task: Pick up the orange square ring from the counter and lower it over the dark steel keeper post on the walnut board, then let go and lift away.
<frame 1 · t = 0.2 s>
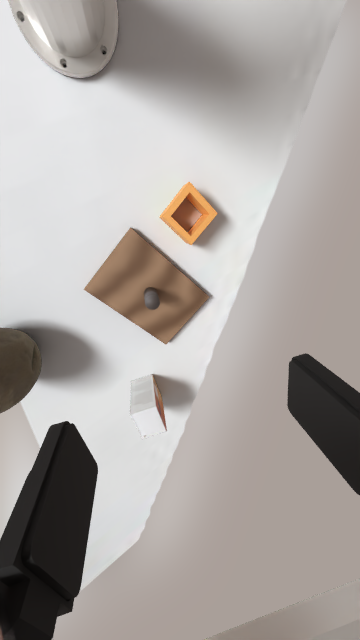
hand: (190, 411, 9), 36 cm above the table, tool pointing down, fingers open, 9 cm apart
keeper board: (150, 291, 44), on the table
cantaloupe: (13, 346, 44), on the table
orange square ring: (184, 215, 40), on the table
small box: (146, 388, 54), on the table
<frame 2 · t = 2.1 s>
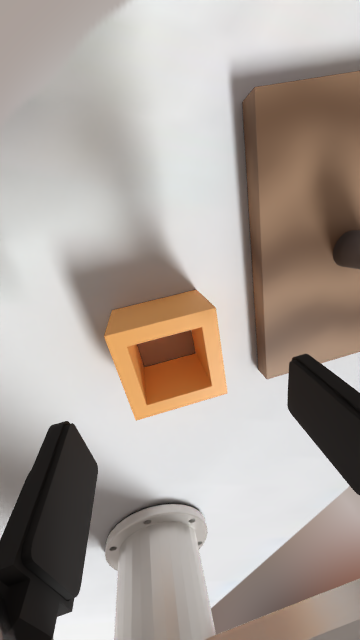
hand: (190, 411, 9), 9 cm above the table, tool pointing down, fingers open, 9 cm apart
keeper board: (332, 247, 18), on the table
orange square ring: (164, 337, 18), on the table
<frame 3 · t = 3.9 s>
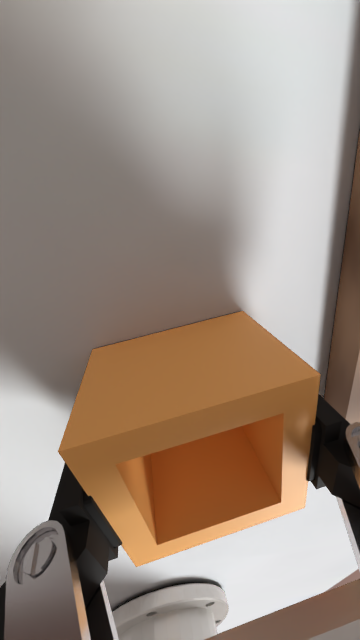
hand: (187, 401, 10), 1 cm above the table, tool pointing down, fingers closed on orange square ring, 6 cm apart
orange square ring: (183, 387, 11), on the table, touching gripper
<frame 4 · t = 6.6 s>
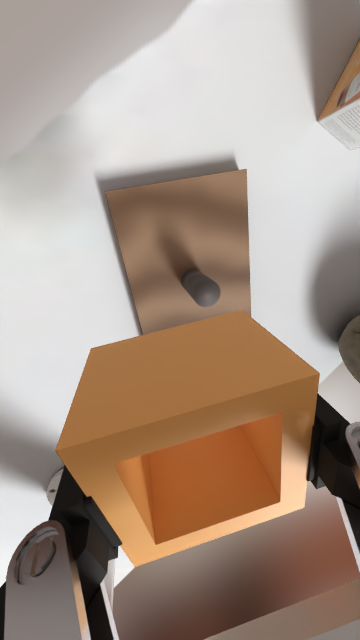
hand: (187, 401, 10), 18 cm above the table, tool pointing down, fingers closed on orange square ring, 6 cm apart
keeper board: (189, 278, 27), on the table
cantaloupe: (357, 329, 35), on the table
orange square ring: (182, 387, 11), point 17 cm above the table, touching gripper
small box: (354, 96, 23), on the table
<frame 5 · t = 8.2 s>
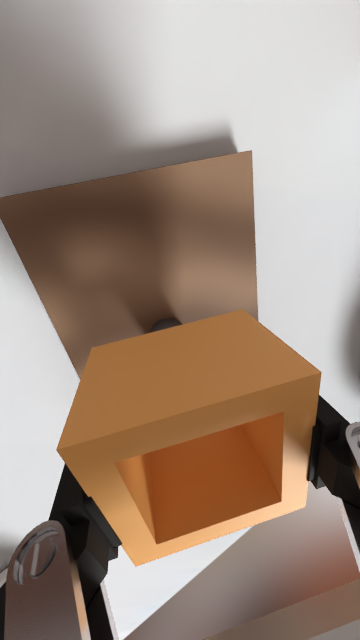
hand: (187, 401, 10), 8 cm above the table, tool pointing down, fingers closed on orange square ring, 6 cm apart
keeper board: (165, 325, 17), on the table
orange square ring: (183, 386, 11), point 7 cm above the table, touching gripper
when the fingers open (5 cm above the table, at t = 9.4 s): orange square ring drops 2 cm, resting on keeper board.
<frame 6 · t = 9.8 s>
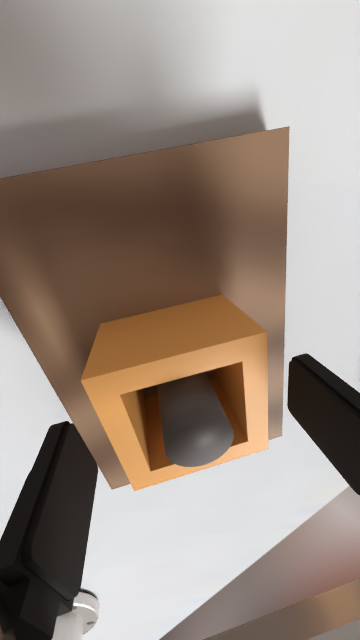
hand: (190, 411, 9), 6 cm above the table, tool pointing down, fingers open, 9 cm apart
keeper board: (171, 346, 14), on the table
orange square ring: (174, 359, 13), point 1 cm above the table, touching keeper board
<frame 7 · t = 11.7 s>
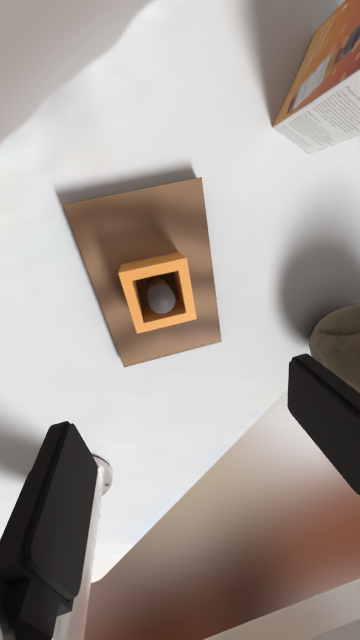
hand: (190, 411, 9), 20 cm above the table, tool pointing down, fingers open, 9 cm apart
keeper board: (156, 282, 27), on the table
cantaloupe: (330, 327, 36), on the table
orange square ring: (156, 285, 26), point 1 cm above the table, touching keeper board
small box: (309, 100, 23), on the table
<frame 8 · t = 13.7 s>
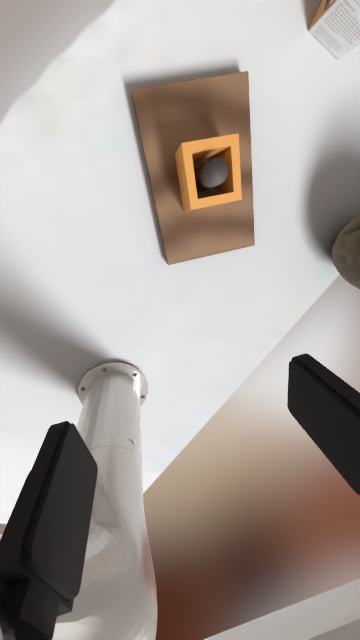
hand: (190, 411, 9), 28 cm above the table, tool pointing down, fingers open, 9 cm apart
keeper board: (200, 181, 31), on the table
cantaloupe: (349, 244, 39), on the table
orange square ring: (203, 180, 30), point 1 cm above the table, touching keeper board
small box: (340, 8, 27), on the table
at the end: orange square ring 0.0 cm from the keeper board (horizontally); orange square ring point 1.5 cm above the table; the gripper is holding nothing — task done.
